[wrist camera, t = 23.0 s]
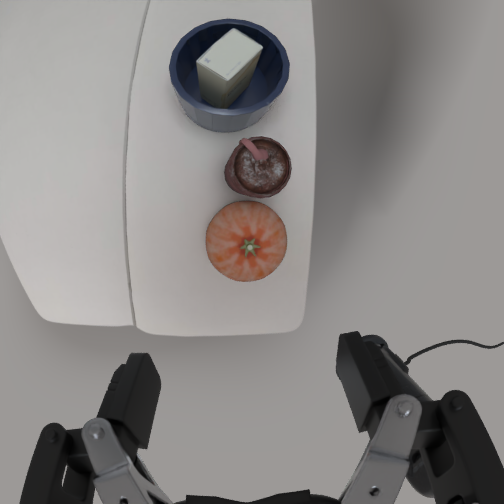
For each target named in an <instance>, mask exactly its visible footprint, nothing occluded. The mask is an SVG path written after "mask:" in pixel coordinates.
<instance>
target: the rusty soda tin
mask: <svg viewBox="0 0 504 504" xmlns="http://www.w3.org/2000/svg"><path fill="white" fill-rule="evenodd" d="M291 169H292V168H291V161H290V157H289V155H288V153H287V151H286V150H285V149H284V147H283V146H282V145H281V144H280V143H278V142H277V141H275V140H273V139H271V138H267V137H262V136H260V137H251V138H249V139H246V138H243V139H242V140H240V141H239V145H238V146H237V147H236V148H235V149H234V151H233V153H232V155H231V157H230V159H229V160H228V162H227V164H226V166H225V171H224V174H225V180H226V182H227V184H228V186H229V187H230V188H231V189H232V190H234V191H236V192H238V193H240V194H243V195H246V196H250V197H255V198H266V197H271V196H273V195H275V194H277V193H279V192H280V191H281V190H282V189H283V188H284V187H285V186H286V184H287V182H288V180H289V179H290V175H291Z"/></svg>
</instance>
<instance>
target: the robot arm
mask: <svg viewBox="0 0 504 504" xmlns="http://www.w3.org/2000/svg"><path fill="white" fill-rule="evenodd" d="M453 343H468V344H473V345H475V346H479V347H482V348H488V349H491V348H496V347H498V346H501V345H503V344H504V342H502V343H500V344H498V345H495V346H485V345H482V344H479V343H476V342H472V341H469V340H451V341H446V342H442V343H439V344H436V345H433V346H431V347H428V348H426V349H423V350H421V351H419V352H417V353H415V354H413V355H411V356H410V357H408V359H407V361H406V362H404V363H403V361H402V360H401V359H400V358H399V357H398V356H397V355H396V354H394V353H393V352H392V351H391V350H390V349H389V348H388V347H387V346H386V345H385V344H384V343H383V344H380V345H379V344H377V343H373V342H372V341H371V340H370V341H366V342H364V341H363V339H362V337H361V335H360V333H359V332H358V331H355V332H350V333H344V334H340V336H339V343H338V352H337V358H336V365H337V371H338V374H339V377H340V380H341V382H342V385H343V388H344V391H345V393H346V396H347V399H348V402H349V405H350V408H351V410H352V413H353V416H354V419H355V422H356V425H357V428H358V431H359V433H360V432H364V431H368V434H369V437H370V440H369V443H368V445H367V447H366V449H365V451H364V453H363V456H362V458H361V460H360V462H359V464H358V466H357V468H356V470H355V471H354V473H353V475H352V477H351V479H350V480H349V482H348V484H347V485H346V487H345V489H344V491H343V492H342V494H341V496H340V497H339V499H338V500H337V499H334V498H331V497H328V496H324V495H316V494H310V490H309V489H308V490H303V491H296V492H289V493H281V494H276V495H273V496H270V497H267V498H263V499H260V500H256V501H252V502H246V503H245V502H239V501H234V500H229V499H224V498H220V497H216V496H215V497H214V496H194V495H186V500H185V501H180V502H176V503H174V504H394V502H395V500H396V498H397V495H398V493H399V491H400V489H401V486H402V484H403V481H404V479H405V477H406V478H407V480H408V481H409V483H410V484H411V486H412V487H413V488H414V489H415V490H416V491H417V492H418V493H420V494H421V495H423V496H425V497H430V498H435V502H436V504H504V468H503V465H502V463H501V461H500V458H499V456H498V454H497V451H496V449H495V447H494V445H493V443H492V441H491V438H490V436H489V434H488V432H487V430H486V428H485V426H484V424H483V422H482V420H481V418H480V416H479V414H478V412H477V410H476V409H475V407H474V405H473V403H472V401H471V399H470V398H469V396H468V395H467V394H466V393H464V392H462V391H459V390H452V391H449V392H447V393H446V394H445V395H444V396H443V398H442V399H441V400H437V401H433V400H432V399H431V398H430V397H429V396H428V395H427V394H426V393H425V392H424V391H423V390H422V389H421V388H420V387H419V386H418V384H417V383H416V382H415V381H414V380H413V379H412V378H411V377H410V376H409V375H408V370H409V369H408V367H407V366H406V365H408V364H409V363H410V361H411V359H413V358H414V357H416V356H418V355H420V354H422V353H425V352H427V351H429V350H432V349H434V348H437V347H440V346H443V345H447V344H453ZM160 390H161V380H160V376H159V374H158V372H157V370H156V368H155V365H154V363H153V361H152V359H151V357H150V355H149V354H148V353H131V354H130V355H129V357H128V360H127V363H126V364H122V365H120V367H119V368H118V369H117V370H116V371H115V372H114V374H113V377H112V379H111V383H110V384H109V386H108V391H106V394H105V396H104V399H103V402H102V404H101V407H100V409H99V412H98V415H97V417H96V418H94V419H91V420H89V421H88V422H87V423H86V424H85V425H84V427H83V428H81V429H72V430H66V429H65V428H64V427H63V426H62V425H60V424H58V423H50V424H48V425H46V426H45V427H44V428H43V430H42V432H41V434H40V437H39V440H38V442H37V445H36V448H35V451H34V454H33V457H32V460H31V463H30V466H29V470H28V473H27V476H26V480H25V484H24V487H23V491H22V495H21V499H20V504H93V497H94V491H95V488H96V490H97V492H98V494H99V496H100V499H101V501H102V502H103V504H173V503H172V501H171V500H170V499H169V498H168V497H167V496H166V494H165V493H164V492H163V491H162V490H161V489H160V488H159V486H158V485H157V483H156V482H155V480H154V479H153V477H152V476H151V474H150V473H149V471H148V469H147V468H146V466H145V464H144V463H143V461H142V459H141V458H140V456H139V454H138V453H137V450H138V448H142V449H147V447H148V443H149V438H150V433H151V429H152V424H153V420H154V415H155V411H156V407H157V402H158V398H159V394H160ZM66 465H67V466H68V467H67V471H66V475H65V479H64V483H63V487H62V479H63V475H64V471H65V467H66Z"/></svg>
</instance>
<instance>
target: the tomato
mask: <svg viewBox="0 0 504 504" xmlns="http://www.w3.org/2000/svg"><path fill="white" fill-rule="evenodd" d="M286 248H287V235H286V230H285V226H284V224H283V222H282V220H281V219H280V217H279V216H278V215H277V214H276V213H275V212H274V211H273V210H272V209H271V208H269V207H268V206H266V205H264V204H262V203H259V202H255V201H239V202H234V203H231V204H229V205H227V206H225V207H224V208H223V209H222V210H220V211H219V212H218V213H217V214H216V215H215V217H214V218H213V219H212V221H211V222H210V224H209V226H208V229H207V232H206V249H207V254H208V257H209V259H210V261H211V263H212V264H213V266H214V267H215V268H216V269H217V270H218V271H219V272H220V273H222V274H223V275H225V276H226V277H228V278H230V279H232V280H235V281H242V282H248V281H256V280H259V279H262V278H265V277H266V276H268V275H269V274H271V273H272V272H273V271H274V270H275V269H276V268H277V267H278V266H279V264H280V263H281V261H282V260H283V258H284V256H285V253H286Z"/></svg>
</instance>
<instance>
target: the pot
mask: <svg viewBox="0 0 504 504" xmlns="http://www.w3.org/2000/svg"><path fill="white" fill-rule="evenodd" d="M233 28H234V29H236V30H238V31H240V32H241V33H243V34H245V35H246V36H248V37H249V38H251V39H252V40H254V41H255V42H257V43H258V44H260V45H261V46H262V47H263V49H262V51H261V54H260V57H259V59H258V62H257V65H256V68H255V70H254V73H253V76H252V79H251V81H250V84H249V86H248V87H247V88H246V89H245V90H244V91H243V92H242V93H241V94H240V95H239V96H238V98H237V99H236V100H235V101H234V102H233V103H232V104H231V105H230V106H229V107H228V108H227V109H223V108H215V107H214V106H212V105H211V104H209V103H208V102H207V101H205V100H204V99H202V98H201V96H200V87H199V79H198V71H197V63H196V61H197V60H198V59H199V58H200V57H201V56H202V55H203V54H204V53H205V52H206V51H207V50H208V49H209V48H210V47H211V46H212V45H213V44H214V43H216V42H217V41H218V40H219V39H220V38H221V37H223V36H224V35H225V34H226V33H228V32H229V31H230V30H231V29H233ZM289 67H290V63H289V60H288V56H287V53H286V50H285V48H284V47H283V45H282V44H281V43H280V41H279V40H278V39H277V37H276V36H275V35H273V34H272V33H271V32H269V31H268V30H267V29H265V28H264V27H262V26H260V25H257V24H254V23H252V22H249V21H246V20H237V19H222V20H215V21H210V22H207V23H205V24H202V25H200V26H198V27H195V28H194V29H192V30H191V31H190V32H189V33H187V34H186V35H185V36H184V37H182V38H181V40H180V41H179V42H178V44H177V45H176V47H175V49H174V50H173V52H172V56H171V60H170V64H169V71H170V77H171V82H172V85H173V87H174V90H175V92H176V95H177V97H178V100H179V102H180V104H181V106H182V108H183V110H184V111H185V113H186V115H187V116H188V117H189V118H190V119H191V120H192V121H193V122H194V123H196V124H197V125H199V126H201V127H203V128H205V129H208V130H211V131H215V132H235V131H239V130H242V129H245V128H247V127H249V126H251V125H253V124H254V123H256V122H257V121H258V120H259V119H260V118H261V117H262V116H263V115H264V114H265V113H266V112H267V111H268V109H269V108H270V107H271V105H272V104H273V103H274V102H275V100H276V99H277V98H278V96H279V95H280V94H281V93H282V91H283V89H284V87H285V85H286V83H287V81H288V78H289Z"/></svg>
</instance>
